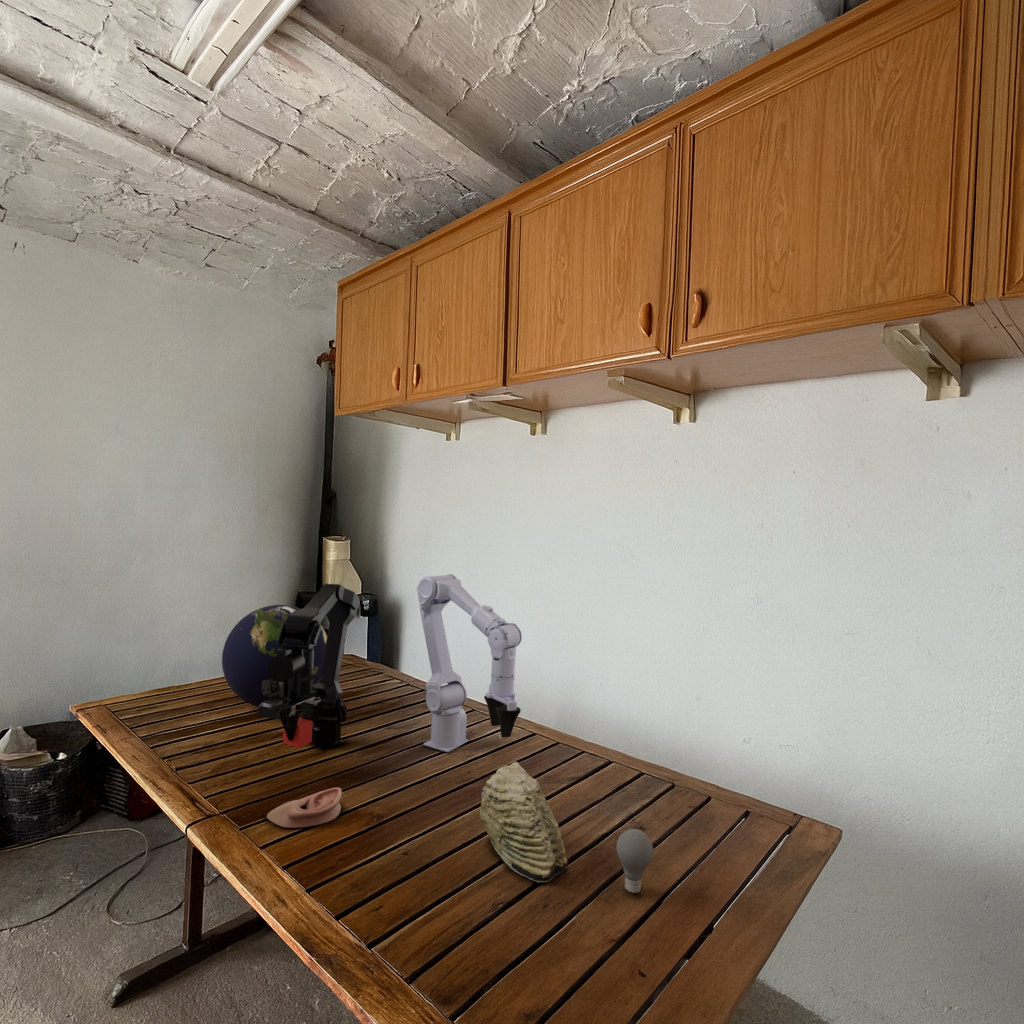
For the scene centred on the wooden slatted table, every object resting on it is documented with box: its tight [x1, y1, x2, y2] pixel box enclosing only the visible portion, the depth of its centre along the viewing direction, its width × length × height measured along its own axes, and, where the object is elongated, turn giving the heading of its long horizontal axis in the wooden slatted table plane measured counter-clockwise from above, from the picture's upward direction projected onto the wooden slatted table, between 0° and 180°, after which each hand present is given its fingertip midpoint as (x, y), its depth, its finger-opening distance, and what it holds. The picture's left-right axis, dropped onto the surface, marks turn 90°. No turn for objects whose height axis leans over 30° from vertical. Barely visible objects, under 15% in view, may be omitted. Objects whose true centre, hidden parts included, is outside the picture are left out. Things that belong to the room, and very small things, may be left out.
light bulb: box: [615, 828, 654, 894], centre depth 106 cm, size 6×6×10 cm
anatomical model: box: [266, 786, 343, 829], centre depth 126 cm, size 13×4×12 cm
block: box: [282, 717, 313, 749], centre depth 145 cm, size 4×5×5 cm
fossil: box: [479, 761, 569, 883], centre depth 114 cm, size 9×18×15 cm, turn 46°
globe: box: [221, 604, 327, 708], centre depth 188 cm, size 30×30×30 cm
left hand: (297, 737), depth 145 cm, fingers closed on block, 4 cm apart
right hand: (500, 730), depth 153 cm, fingers open, 7 cm apart
